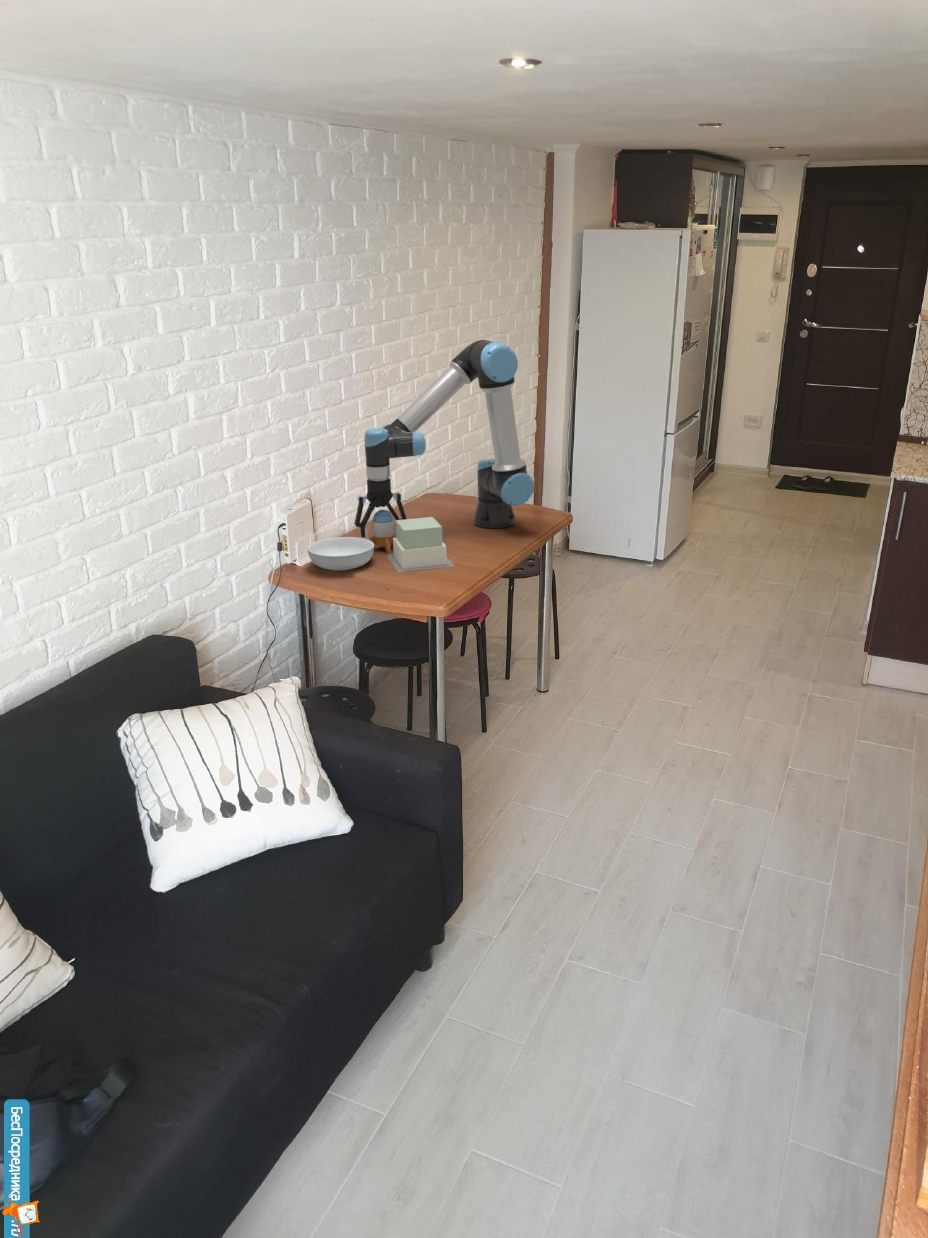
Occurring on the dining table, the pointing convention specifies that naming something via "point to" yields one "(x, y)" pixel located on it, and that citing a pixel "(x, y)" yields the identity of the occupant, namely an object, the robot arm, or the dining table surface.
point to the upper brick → (419, 533)
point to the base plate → (399, 568)
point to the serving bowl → (341, 553)
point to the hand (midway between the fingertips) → (382, 544)
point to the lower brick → (419, 556)
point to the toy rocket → (383, 530)
